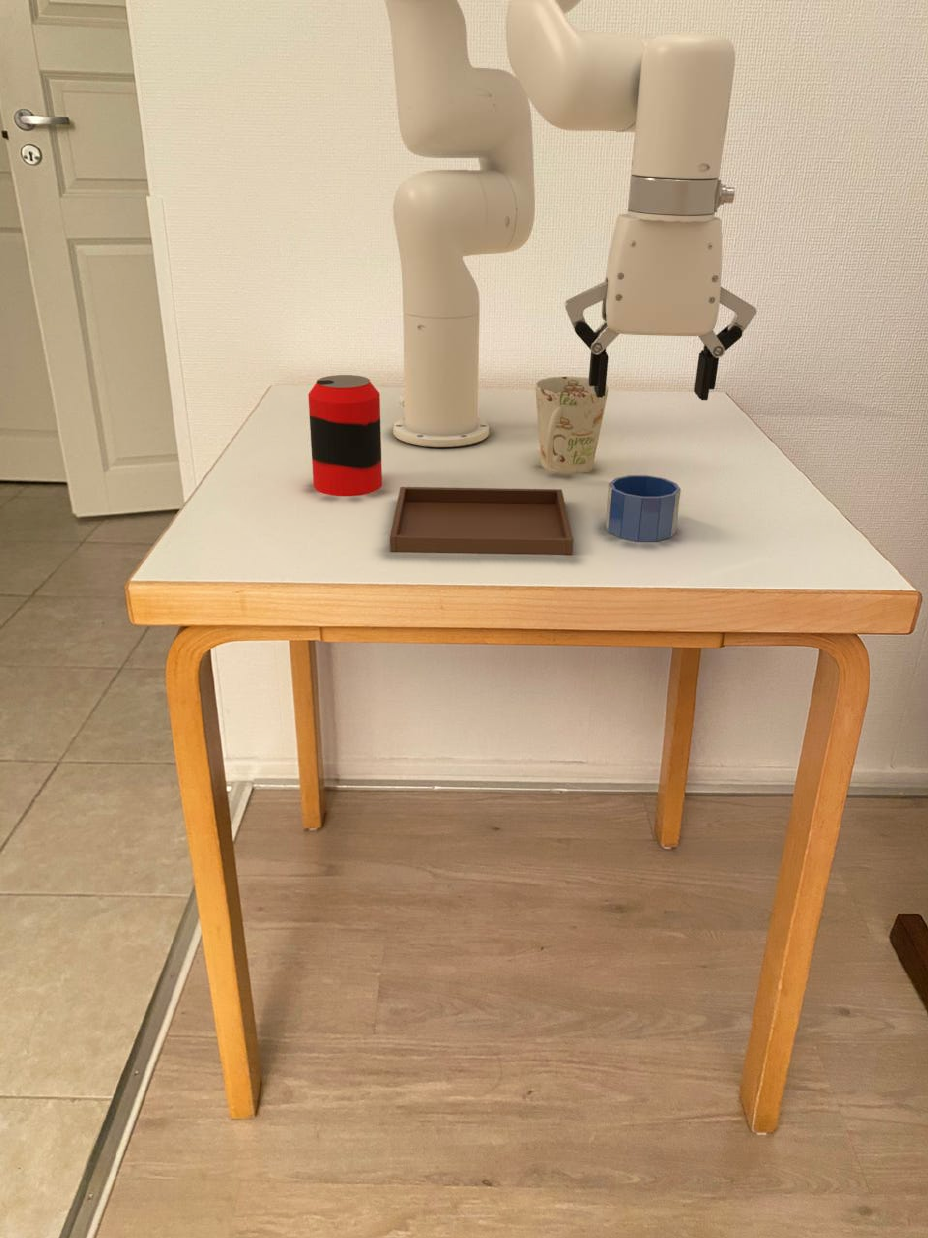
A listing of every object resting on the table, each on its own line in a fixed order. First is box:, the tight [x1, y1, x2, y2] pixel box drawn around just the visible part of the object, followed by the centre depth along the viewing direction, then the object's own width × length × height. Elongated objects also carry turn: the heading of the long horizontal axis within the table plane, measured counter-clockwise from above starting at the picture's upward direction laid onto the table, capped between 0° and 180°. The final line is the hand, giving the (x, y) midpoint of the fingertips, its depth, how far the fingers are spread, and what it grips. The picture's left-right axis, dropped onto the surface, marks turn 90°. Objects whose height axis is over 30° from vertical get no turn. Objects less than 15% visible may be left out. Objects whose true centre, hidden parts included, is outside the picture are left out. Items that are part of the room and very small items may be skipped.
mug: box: [535, 376, 609, 474], centre depth 112 cm, size 8×13×10 cm, turn 161°
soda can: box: [307, 374, 383, 497], centre depth 106 cm, size 8×8×12 cm
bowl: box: [604, 474, 682, 543], centre depth 97 cm, size 7×7×5 cm
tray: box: [389, 486, 574, 556], centre depth 98 cm, size 17×14×2 cm
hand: (649, 395), depth 93 cm, fingers open, 9 cm apart
